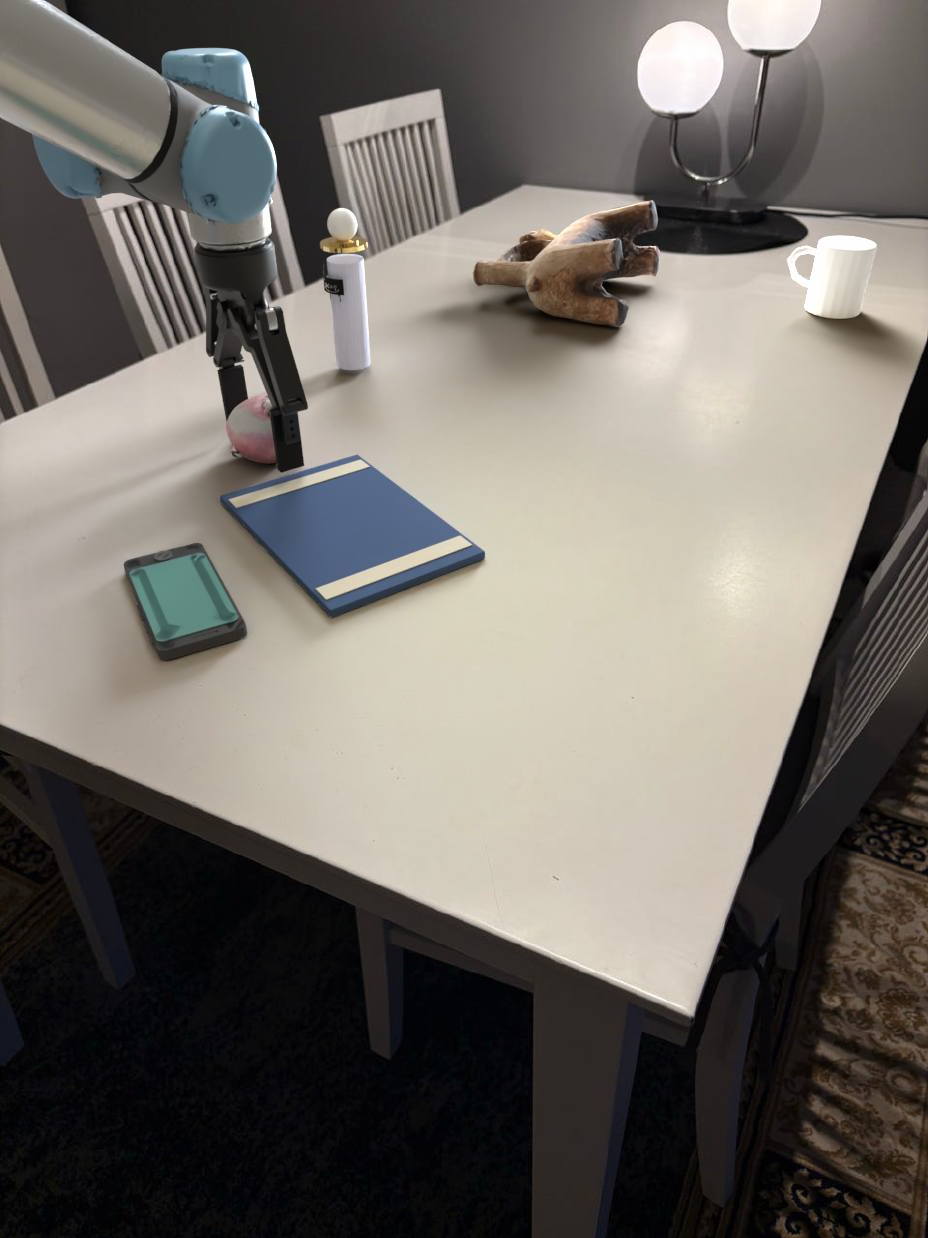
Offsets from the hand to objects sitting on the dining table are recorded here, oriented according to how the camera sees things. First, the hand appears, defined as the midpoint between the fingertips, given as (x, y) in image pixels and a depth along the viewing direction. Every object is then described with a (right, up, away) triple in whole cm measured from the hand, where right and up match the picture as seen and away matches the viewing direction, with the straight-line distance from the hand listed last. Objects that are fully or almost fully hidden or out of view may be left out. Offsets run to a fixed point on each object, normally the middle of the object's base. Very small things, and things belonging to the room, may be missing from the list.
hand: (264, 444), depth 99 cm
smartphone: (-3, -18, -21) cm, 27 cm away
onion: (0, -1, +1) cm, 2 cm away
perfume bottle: (+7, +14, +22) cm, 27 cm away
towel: (+10, -10, -11) cm, 18 cm away
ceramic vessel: (+38, +33, +46) cm, 68 cm away
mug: (+76, +28, +40) cm, 91 cm away
